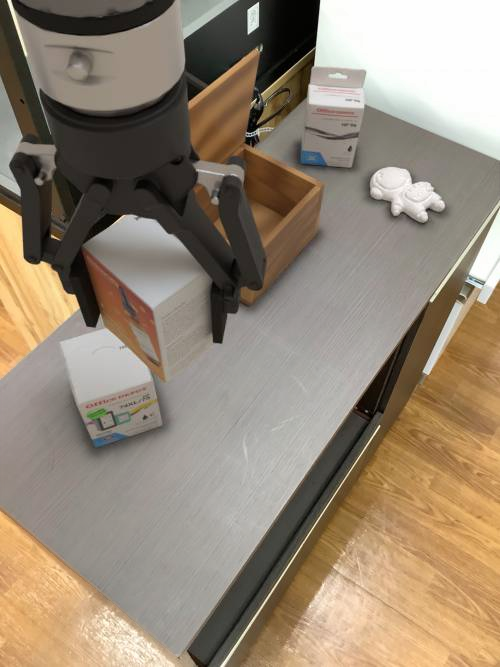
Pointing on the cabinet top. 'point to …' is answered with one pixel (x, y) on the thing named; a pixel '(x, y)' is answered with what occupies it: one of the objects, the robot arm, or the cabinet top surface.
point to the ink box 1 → (110, 387)
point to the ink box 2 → (332, 116)
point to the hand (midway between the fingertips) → (157, 321)
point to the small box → (151, 293)
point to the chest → (273, 210)
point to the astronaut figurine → (405, 193)
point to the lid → (222, 110)
